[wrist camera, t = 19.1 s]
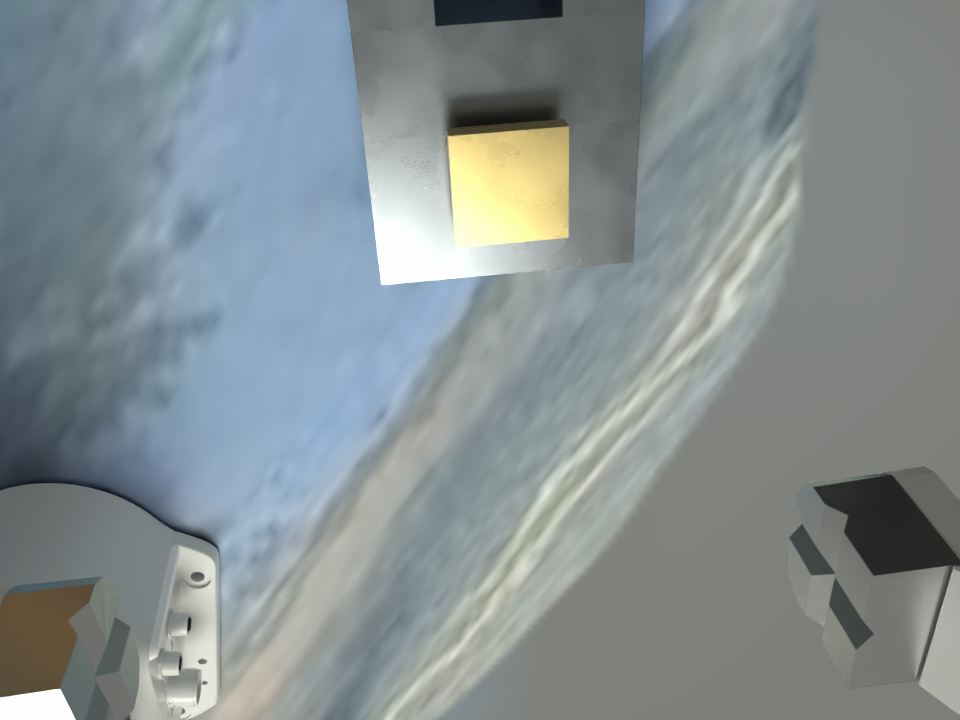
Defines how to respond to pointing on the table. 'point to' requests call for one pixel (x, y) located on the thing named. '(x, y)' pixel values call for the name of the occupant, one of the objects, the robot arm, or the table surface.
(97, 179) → the table surface
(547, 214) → the wooden tenon block
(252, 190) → the table surface
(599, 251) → the socket block
